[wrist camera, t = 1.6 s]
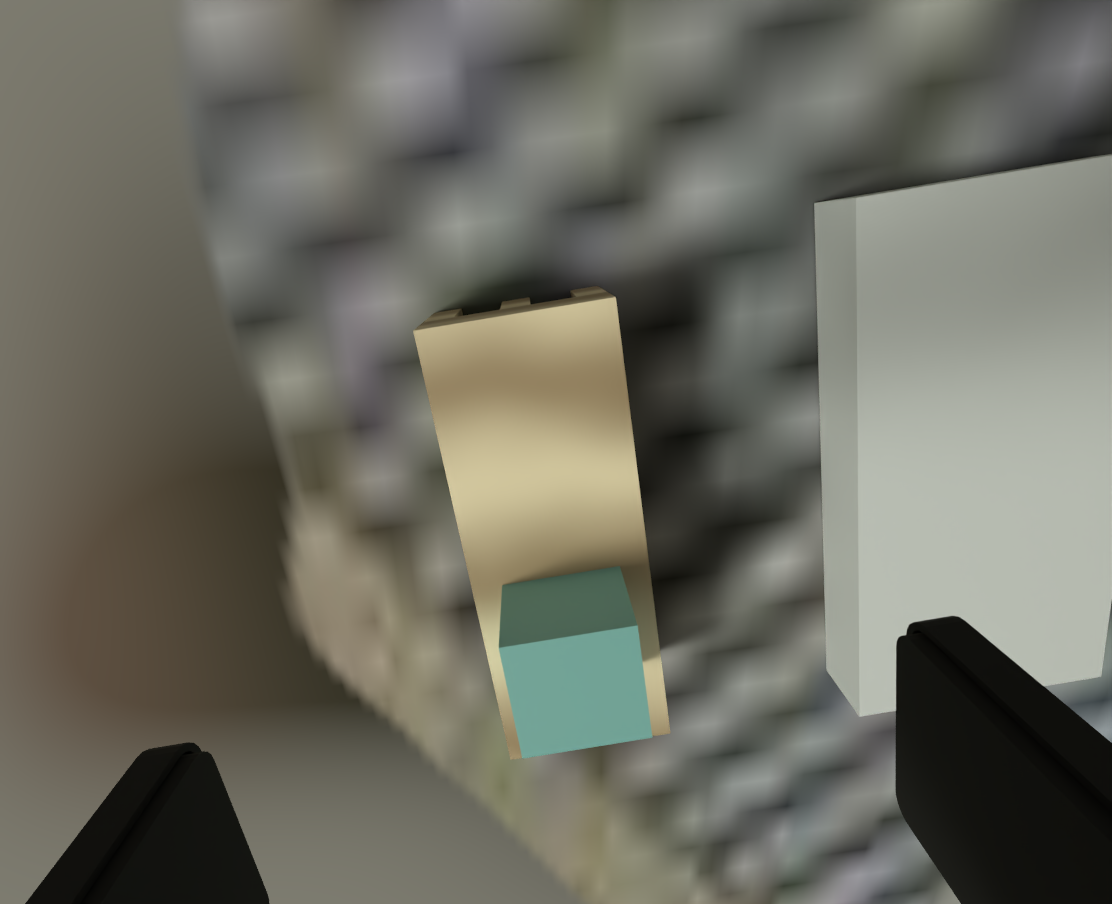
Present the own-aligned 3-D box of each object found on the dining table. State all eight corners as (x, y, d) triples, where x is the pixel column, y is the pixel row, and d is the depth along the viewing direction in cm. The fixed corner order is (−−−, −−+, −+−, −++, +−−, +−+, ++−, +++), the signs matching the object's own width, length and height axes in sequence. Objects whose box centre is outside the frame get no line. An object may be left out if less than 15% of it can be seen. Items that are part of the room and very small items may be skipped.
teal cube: (502, 584, 22) (498, 648, 18) (619, 565, 22) (637, 625, 18) (522, 682, 23) (522, 758, 20) (633, 664, 23) (652, 737, 20)
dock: (814, 203, 23) (856, 197, 20) (1093, 156, 23) (1174, 144, 20) (826, 669, 29) (859, 716, 26) (1044, 633, 29) (1100, 676, 26)
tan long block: (435, 312, 24) (413, 330, 19) (596, 285, 24) (615, 296, 19) (512, 673, 29) (510, 759, 24) (645, 651, 29) (670, 733, 24)
